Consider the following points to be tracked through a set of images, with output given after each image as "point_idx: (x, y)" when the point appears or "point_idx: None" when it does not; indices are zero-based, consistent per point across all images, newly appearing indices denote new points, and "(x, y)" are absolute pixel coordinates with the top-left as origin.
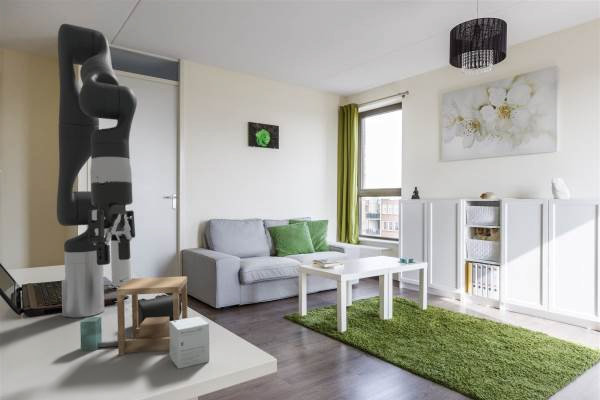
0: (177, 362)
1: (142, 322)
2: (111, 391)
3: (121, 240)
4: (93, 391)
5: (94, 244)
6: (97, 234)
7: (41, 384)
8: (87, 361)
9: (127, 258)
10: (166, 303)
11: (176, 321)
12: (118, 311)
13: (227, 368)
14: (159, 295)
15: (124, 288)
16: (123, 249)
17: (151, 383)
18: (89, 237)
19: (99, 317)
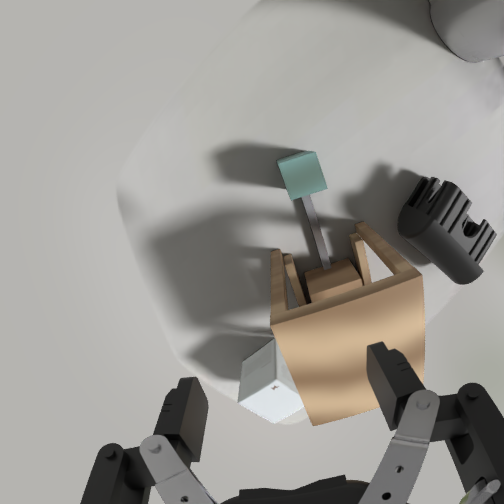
0: (242, 366)
1: (328, 290)
2: (164, 317)
3: (402, 414)
4: (155, 296)
5: (149, 437)
6: (156, 480)
7: (146, 208)
8: (234, 213)
9: (367, 374)
10: (448, 268)
11: (275, 389)
12: (271, 294)
13: None
14: (490, 226)
15: (283, 340)
16: (380, 390)
17: (197, 349)
18: (99, 462)
19: (320, 188)
